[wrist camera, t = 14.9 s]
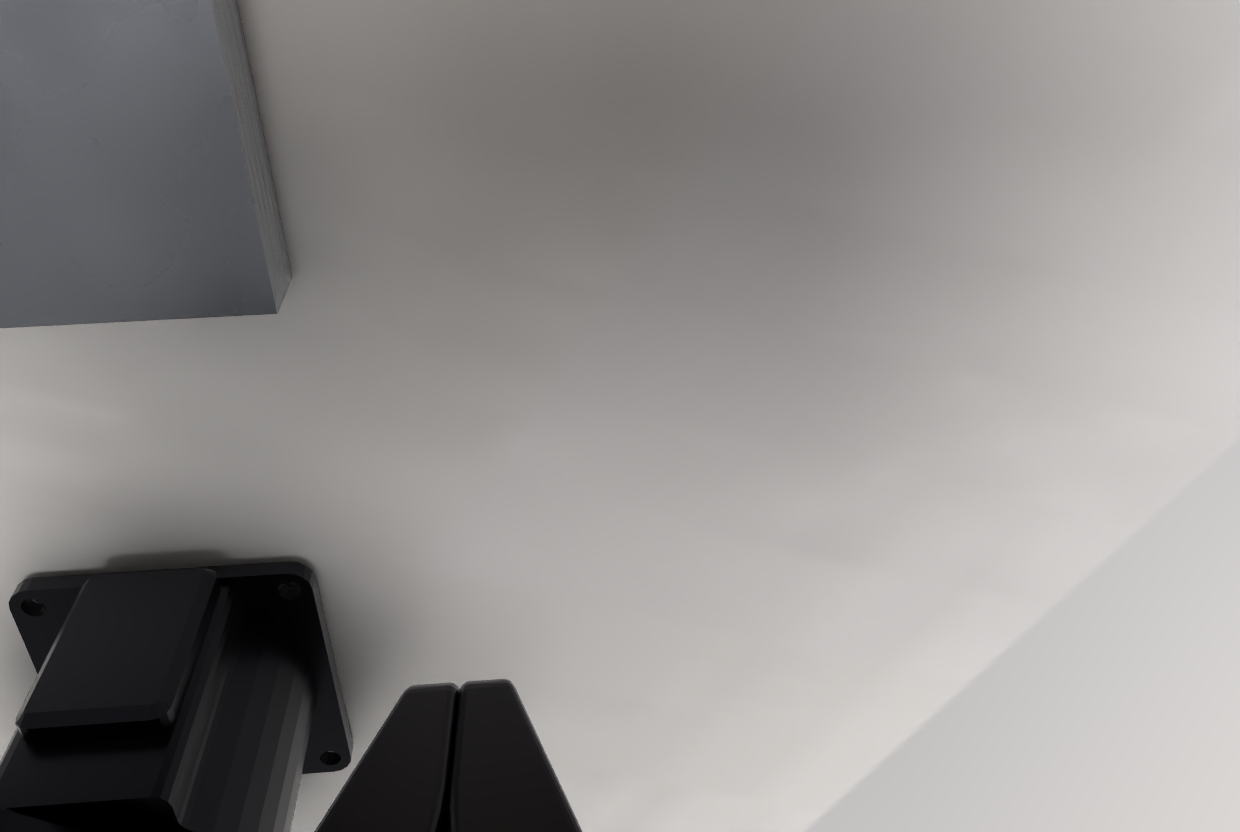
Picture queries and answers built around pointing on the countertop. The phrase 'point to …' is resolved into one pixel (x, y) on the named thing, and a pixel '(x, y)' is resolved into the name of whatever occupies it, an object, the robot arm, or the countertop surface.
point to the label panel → (132, 165)
